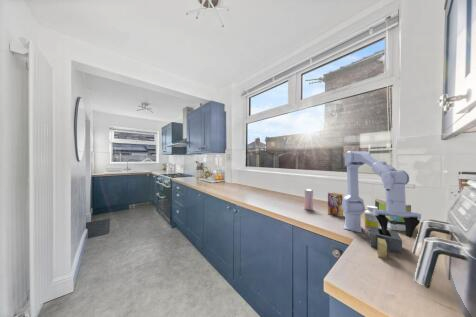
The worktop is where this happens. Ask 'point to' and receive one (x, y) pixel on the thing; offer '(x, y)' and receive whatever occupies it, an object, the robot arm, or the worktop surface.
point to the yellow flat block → (382, 248)
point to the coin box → (386, 239)
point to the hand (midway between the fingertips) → (396, 235)
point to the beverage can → (308, 199)
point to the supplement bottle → (371, 218)
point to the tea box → (393, 222)
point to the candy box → (335, 204)
